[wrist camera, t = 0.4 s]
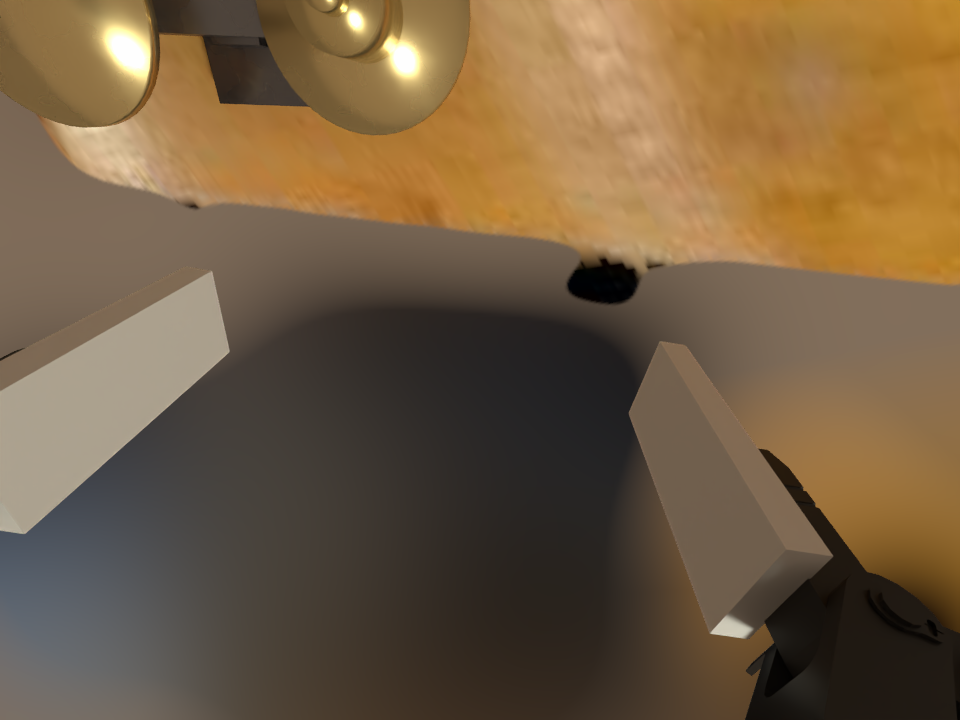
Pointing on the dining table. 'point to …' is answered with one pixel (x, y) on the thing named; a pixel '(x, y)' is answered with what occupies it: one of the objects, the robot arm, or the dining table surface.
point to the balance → (238, 56)
